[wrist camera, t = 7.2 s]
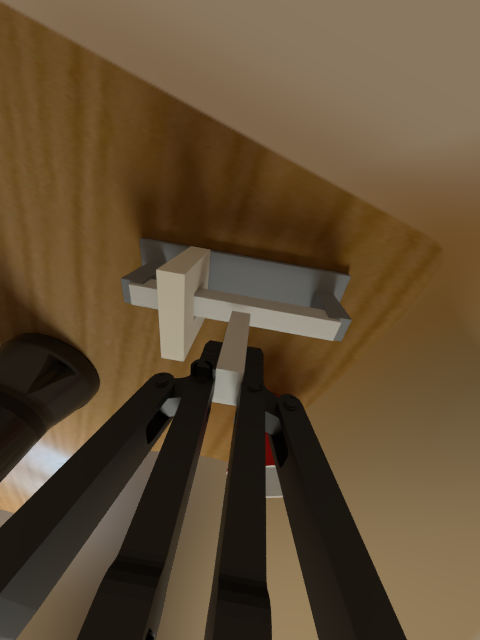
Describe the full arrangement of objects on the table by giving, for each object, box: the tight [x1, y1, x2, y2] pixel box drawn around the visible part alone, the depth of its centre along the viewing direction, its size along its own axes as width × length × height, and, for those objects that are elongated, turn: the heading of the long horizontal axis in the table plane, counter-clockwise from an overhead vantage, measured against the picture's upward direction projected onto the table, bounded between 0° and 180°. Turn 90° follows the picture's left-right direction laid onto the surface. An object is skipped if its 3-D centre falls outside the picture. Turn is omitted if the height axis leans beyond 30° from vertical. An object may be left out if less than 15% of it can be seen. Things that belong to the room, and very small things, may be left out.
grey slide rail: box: [121, 238, 351, 341], centre depth 22 cm, size 23×7×7 cm, turn 82°
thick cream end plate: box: [156, 246, 210, 362], centre depth 20 cm, size 2×8×8 cm, turn 172°
